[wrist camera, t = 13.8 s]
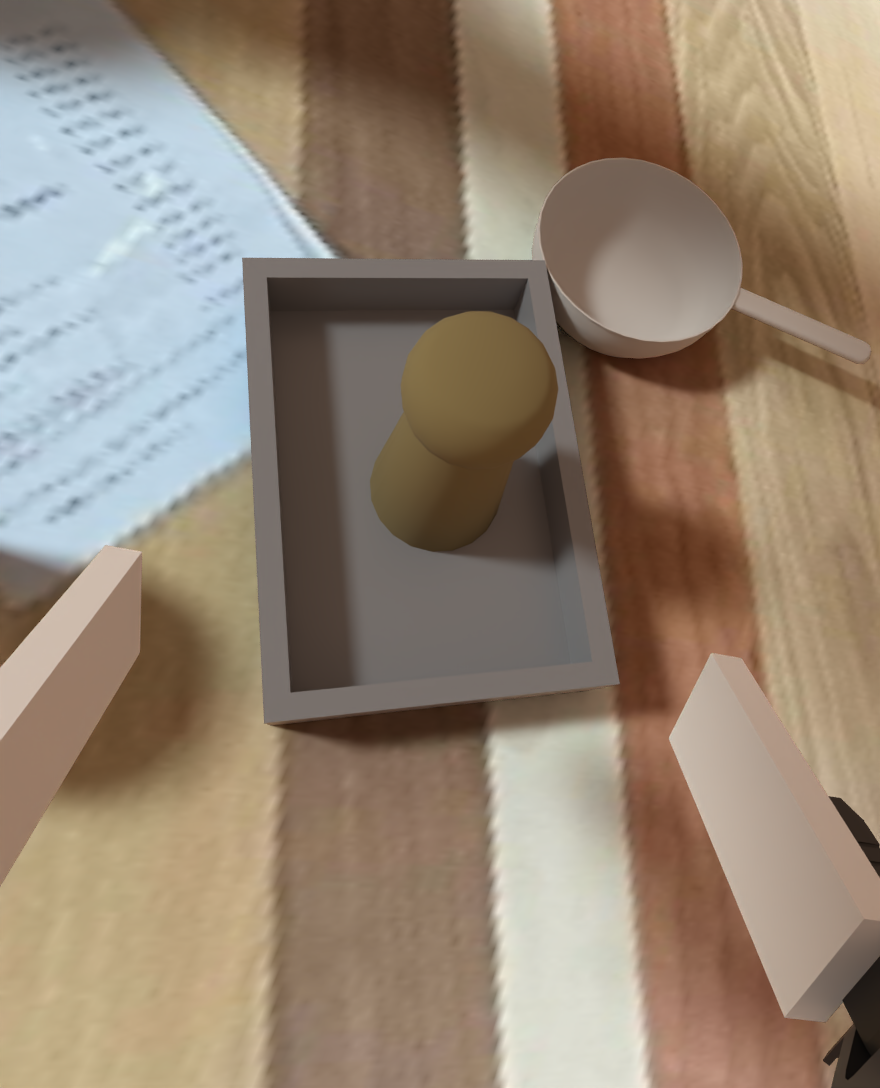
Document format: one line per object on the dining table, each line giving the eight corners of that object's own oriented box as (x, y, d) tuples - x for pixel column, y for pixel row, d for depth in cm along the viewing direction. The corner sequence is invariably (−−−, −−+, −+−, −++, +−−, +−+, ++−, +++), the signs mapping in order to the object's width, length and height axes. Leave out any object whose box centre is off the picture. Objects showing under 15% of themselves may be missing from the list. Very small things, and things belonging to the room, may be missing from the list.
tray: (250, 305, 34) (242, 257, 31) (524, 304, 37) (544, 260, 33) (271, 725, 29) (264, 722, 26) (588, 690, 32) (619, 683, 28)
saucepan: (560, 176, 40) (584, 119, 36) (841, 316, 40) (893, 273, 37) (488, 321, 36) (506, 273, 33) (796, 471, 37) (848, 441, 33)
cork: (344, 463, 32) (356, 324, 21) (455, 407, 33) (516, 252, 23) (414, 576, 31) (462, 488, 20) (524, 512, 32) (621, 401, 22)
